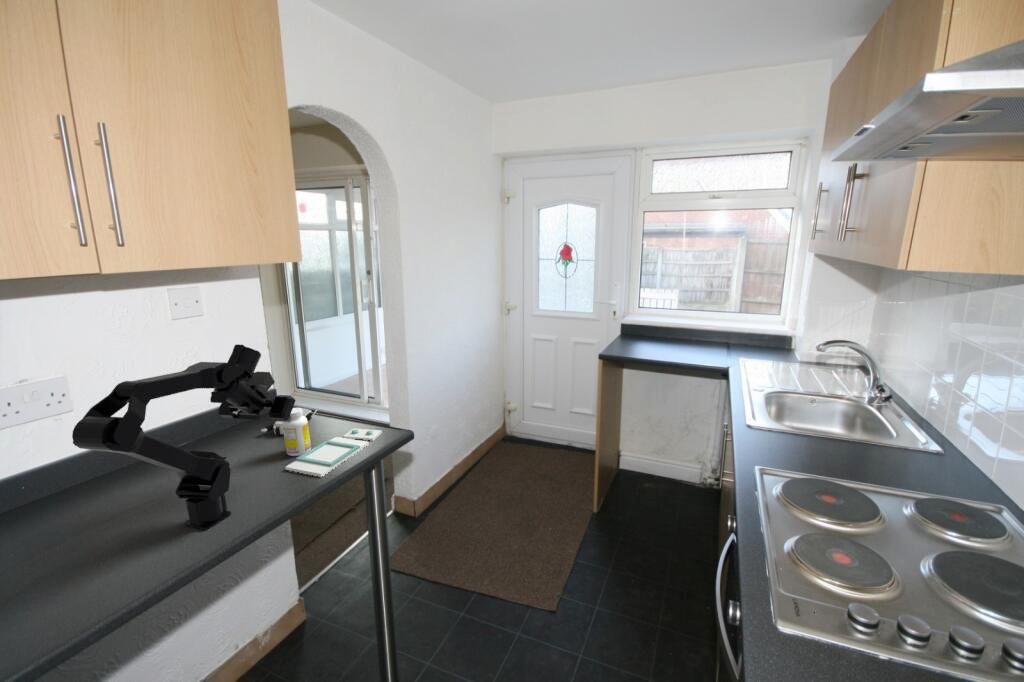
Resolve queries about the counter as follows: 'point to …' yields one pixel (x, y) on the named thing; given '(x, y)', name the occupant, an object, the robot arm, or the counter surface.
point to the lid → (363, 434)
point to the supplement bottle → (296, 434)
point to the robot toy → (278, 425)
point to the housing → (326, 456)
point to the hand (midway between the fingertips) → (274, 419)
